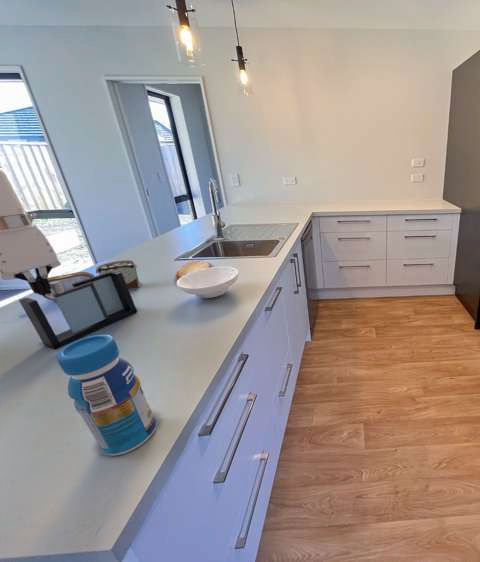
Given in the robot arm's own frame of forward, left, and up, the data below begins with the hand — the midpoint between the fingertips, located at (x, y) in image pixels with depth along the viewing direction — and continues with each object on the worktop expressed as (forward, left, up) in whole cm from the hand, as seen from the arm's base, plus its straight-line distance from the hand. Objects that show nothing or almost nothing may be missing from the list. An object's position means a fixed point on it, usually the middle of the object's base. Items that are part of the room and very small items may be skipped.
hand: (44, 293), depth 77 cm
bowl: (+36, -14, -15) cm, 41 cm away
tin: (+17, +33, -15) cm, 40 cm away
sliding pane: (+6, 0, -13) cm, 14 cm away
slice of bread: (+48, +11, -15) cm, 51 cm away
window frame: (+7, +1, -15) cm, 16 cm away
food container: (+29, +23, -15) cm, 40 cm away
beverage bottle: (-13, -49, -15) cm, 53 cm away
